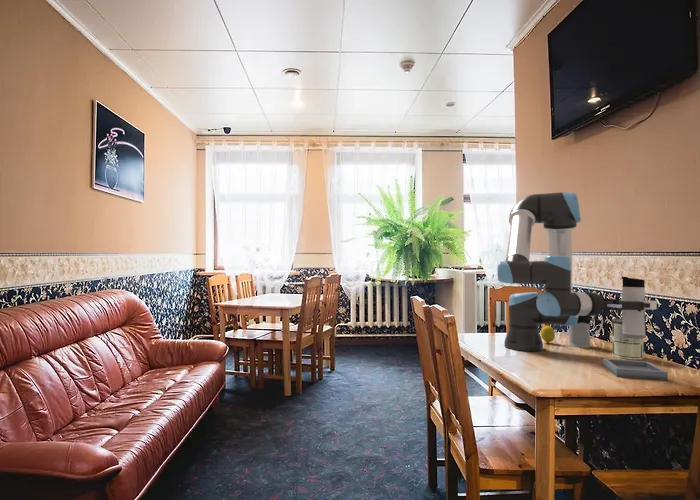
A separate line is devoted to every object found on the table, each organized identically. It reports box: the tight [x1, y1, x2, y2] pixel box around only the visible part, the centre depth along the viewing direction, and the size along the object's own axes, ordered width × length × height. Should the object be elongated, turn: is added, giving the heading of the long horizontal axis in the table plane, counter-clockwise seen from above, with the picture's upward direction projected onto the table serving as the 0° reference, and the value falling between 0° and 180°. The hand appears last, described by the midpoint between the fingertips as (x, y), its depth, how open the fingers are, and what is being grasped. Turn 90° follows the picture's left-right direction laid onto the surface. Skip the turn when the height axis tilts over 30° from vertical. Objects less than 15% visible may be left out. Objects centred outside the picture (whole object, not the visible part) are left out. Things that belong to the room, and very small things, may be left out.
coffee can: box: [611, 318, 645, 361], centre depth 161 cm, size 10×10×14 cm
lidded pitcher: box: [567, 314, 604, 349], centre depth 181 cm, size 9×14×15 cm, turn 84°
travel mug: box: [621, 276, 646, 340], centre depth 138 cm, size 6×7×20 cm
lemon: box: [540, 324, 556, 344], centre depth 186 cm, size 6×6×8 cm
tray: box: [602, 358, 669, 381], centre depth 138 cm, size 14×14×2 cm
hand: (646, 303), depth 139 cm, fingers closed on travel mug, 6 cm apart
